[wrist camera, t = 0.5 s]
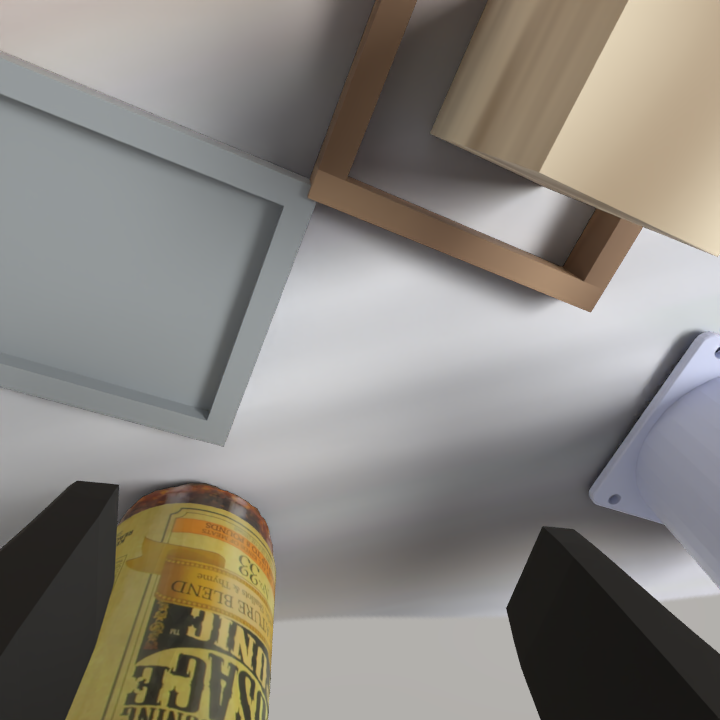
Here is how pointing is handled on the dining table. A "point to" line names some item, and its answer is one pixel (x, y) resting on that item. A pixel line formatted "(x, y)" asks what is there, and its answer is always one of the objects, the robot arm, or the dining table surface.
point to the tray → (135, 256)
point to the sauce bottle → (185, 613)
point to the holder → (337, 190)
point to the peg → (600, 106)
